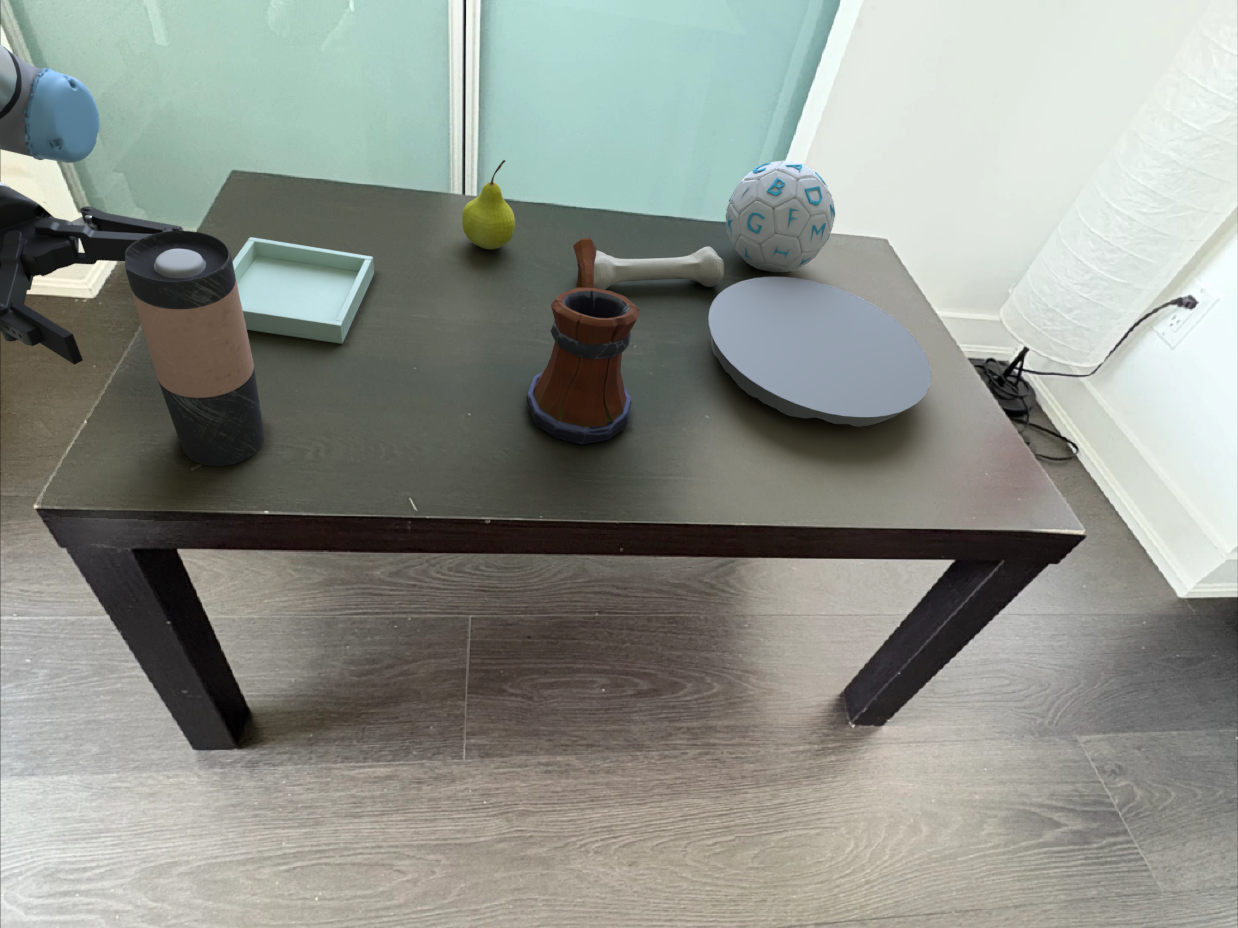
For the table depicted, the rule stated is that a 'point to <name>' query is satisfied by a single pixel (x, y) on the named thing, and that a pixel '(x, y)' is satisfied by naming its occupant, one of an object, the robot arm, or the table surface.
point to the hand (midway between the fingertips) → (148, 314)
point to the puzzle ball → (780, 216)
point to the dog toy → (659, 268)
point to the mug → (585, 360)
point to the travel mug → (198, 343)
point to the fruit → (489, 218)
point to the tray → (300, 288)
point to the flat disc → (817, 351)
